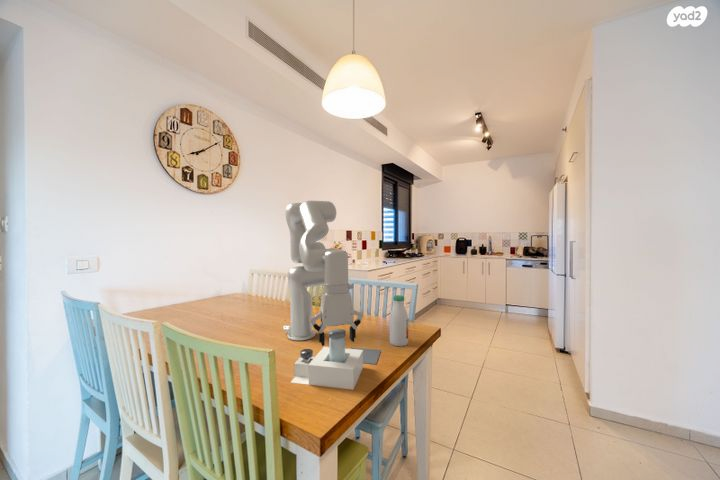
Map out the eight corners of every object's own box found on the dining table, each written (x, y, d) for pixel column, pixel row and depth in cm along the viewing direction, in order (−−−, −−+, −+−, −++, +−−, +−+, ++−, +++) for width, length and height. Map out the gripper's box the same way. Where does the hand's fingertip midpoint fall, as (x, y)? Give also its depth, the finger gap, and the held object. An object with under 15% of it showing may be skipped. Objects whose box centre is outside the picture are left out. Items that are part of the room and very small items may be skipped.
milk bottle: (403, 348, 116) (403, 299, 115) (386, 344, 120) (386, 296, 119) (410, 342, 122) (410, 295, 122) (394, 338, 126) (394, 293, 126)
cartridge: (326, 378, 90) (325, 334, 90) (331, 370, 96) (331, 328, 95) (343, 380, 89) (343, 335, 89) (348, 372, 94) (347, 329, 94)
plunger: (298, 373, 93) (298, 353, 93) (303, 367, 97) (303, 348, 97) (310, 374, 92) (309, 354, 92) (314, 368, 96) (314, 349, 96)
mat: (342, 364, 102) (342, 360, 102) (351, 350, 114) (351, 347, 114) (376, 367, 100) (376, 363, 100) (381, 352, 111) (381, 349, 111)
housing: (288, 385, 88) (288, 362, 88) (306, 364, 102) (306, 345, 102) (353, 392, 84) (353, 369, 84) (363, 370, 98) (363, 349, 97)
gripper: (359, 285, 98) (359, 335, 98) (307, 288, 92) (308, 341, 93) (366, 289, 90) (366, 343, 91) (311, 293, 85) (312, 350, 85)
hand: (337, 342), depth 92 cm, fingers open, 9 cm apart
